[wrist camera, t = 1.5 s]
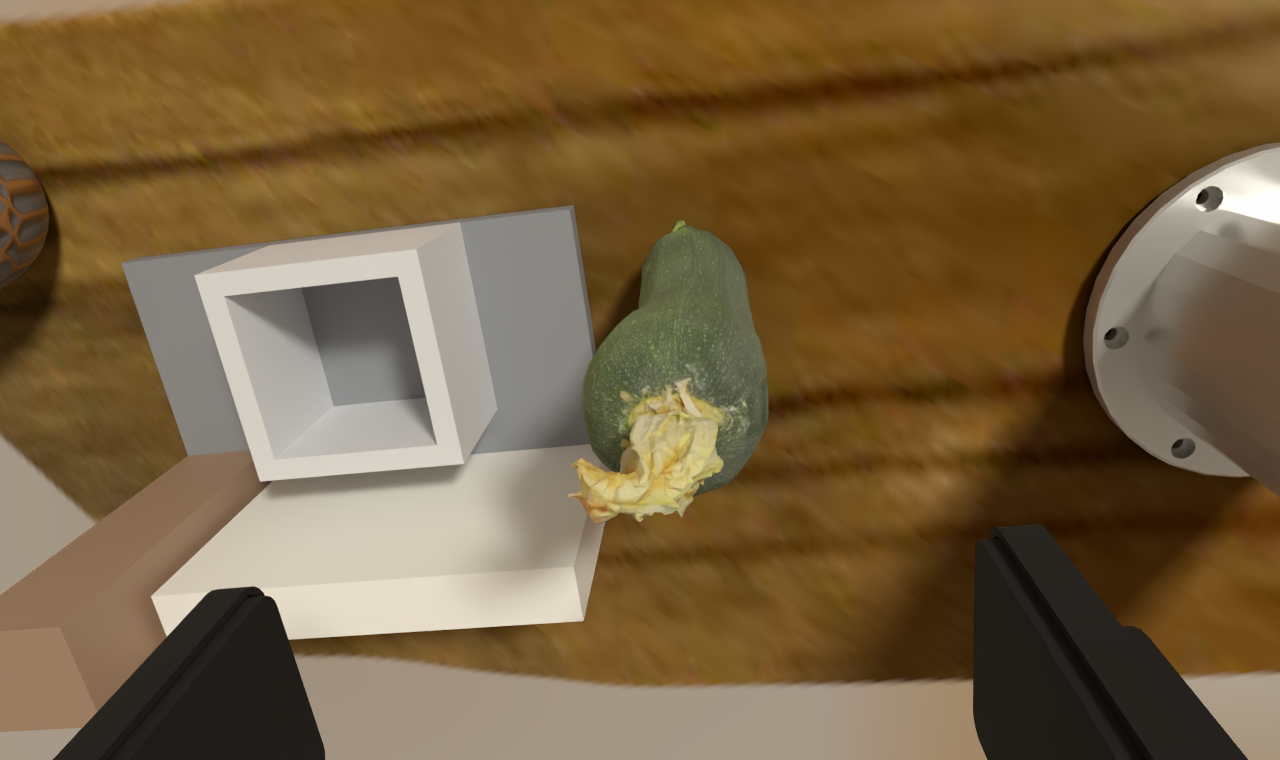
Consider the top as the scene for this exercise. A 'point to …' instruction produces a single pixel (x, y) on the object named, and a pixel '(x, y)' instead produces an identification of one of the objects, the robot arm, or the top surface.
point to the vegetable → (675, 385)
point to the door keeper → (337, 452)
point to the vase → (19, 216)
